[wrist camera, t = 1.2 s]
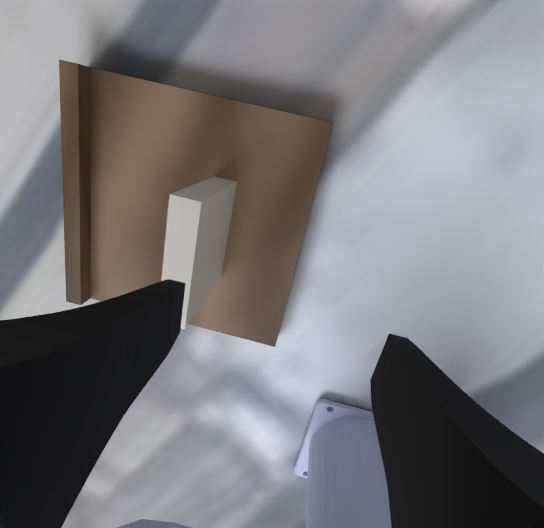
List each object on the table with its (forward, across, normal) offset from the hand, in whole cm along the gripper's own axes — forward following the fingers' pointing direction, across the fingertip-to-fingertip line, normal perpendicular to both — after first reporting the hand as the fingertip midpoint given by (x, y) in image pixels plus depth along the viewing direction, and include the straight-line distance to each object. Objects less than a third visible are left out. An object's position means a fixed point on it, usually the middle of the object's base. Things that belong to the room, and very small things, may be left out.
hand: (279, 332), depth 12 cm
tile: (+9, +5, 0) cm, 10 cm away
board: (+10, +7, 0) cm, 12 cm away
